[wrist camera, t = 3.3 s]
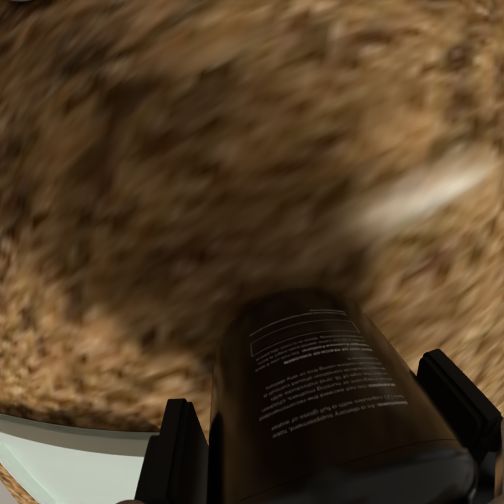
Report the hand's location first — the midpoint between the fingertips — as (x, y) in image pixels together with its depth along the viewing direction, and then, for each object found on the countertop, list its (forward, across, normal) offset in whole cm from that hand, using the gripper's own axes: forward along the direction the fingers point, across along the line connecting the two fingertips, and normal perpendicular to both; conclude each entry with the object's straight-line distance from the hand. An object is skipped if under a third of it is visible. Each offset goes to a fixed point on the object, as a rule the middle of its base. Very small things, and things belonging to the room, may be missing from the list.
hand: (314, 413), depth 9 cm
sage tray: (+3, +15, +12) cm, 19 cm away
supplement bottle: (+4, 0, 0) cm, 4 cm away
